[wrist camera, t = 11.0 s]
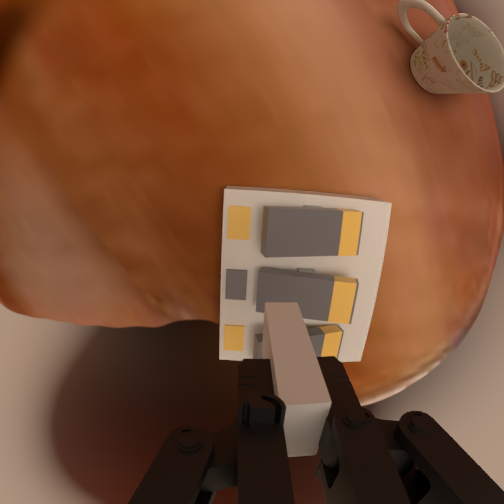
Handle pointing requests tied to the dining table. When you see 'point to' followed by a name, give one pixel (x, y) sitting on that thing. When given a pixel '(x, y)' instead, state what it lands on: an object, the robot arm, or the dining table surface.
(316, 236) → the rocker
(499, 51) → the mug
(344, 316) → the rocker
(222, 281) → the switch unit
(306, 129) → the dining table surface
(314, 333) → the rocker
